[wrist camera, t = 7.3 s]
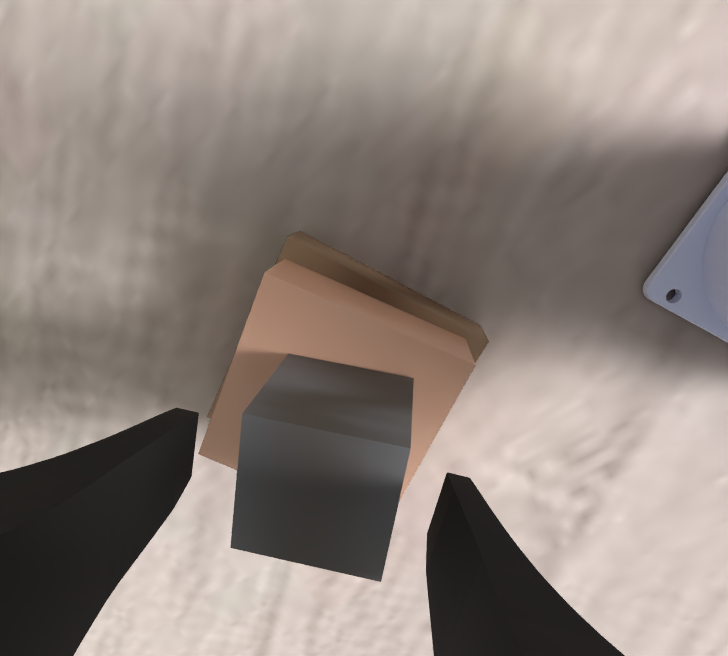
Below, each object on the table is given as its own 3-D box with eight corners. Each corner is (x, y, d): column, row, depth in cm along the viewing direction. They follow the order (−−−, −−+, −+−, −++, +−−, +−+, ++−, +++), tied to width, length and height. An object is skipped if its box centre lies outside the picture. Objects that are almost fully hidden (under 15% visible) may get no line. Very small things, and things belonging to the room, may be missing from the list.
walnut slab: (478, 321, 19) (488, 341, 17) (386, 467, 21) (384, 503, 19) (302, 229, 18) (287, 236, 16) (229, 389, 21) (207, 416, 19)
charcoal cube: (413, 378, 14) (410, 448, 11) (390, 485, 16) (381, 581, 12) (288, 353, 15) (242, 413, 11) (276, 460, 16) (230, 547, 12)
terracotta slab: (465, 338, 17) (475, 365, 14) (385, 486, 19) (382, 531, 16) (285, 258, 16) (264, 271, 14) (225, 418, 19) (198, 453, 16)
